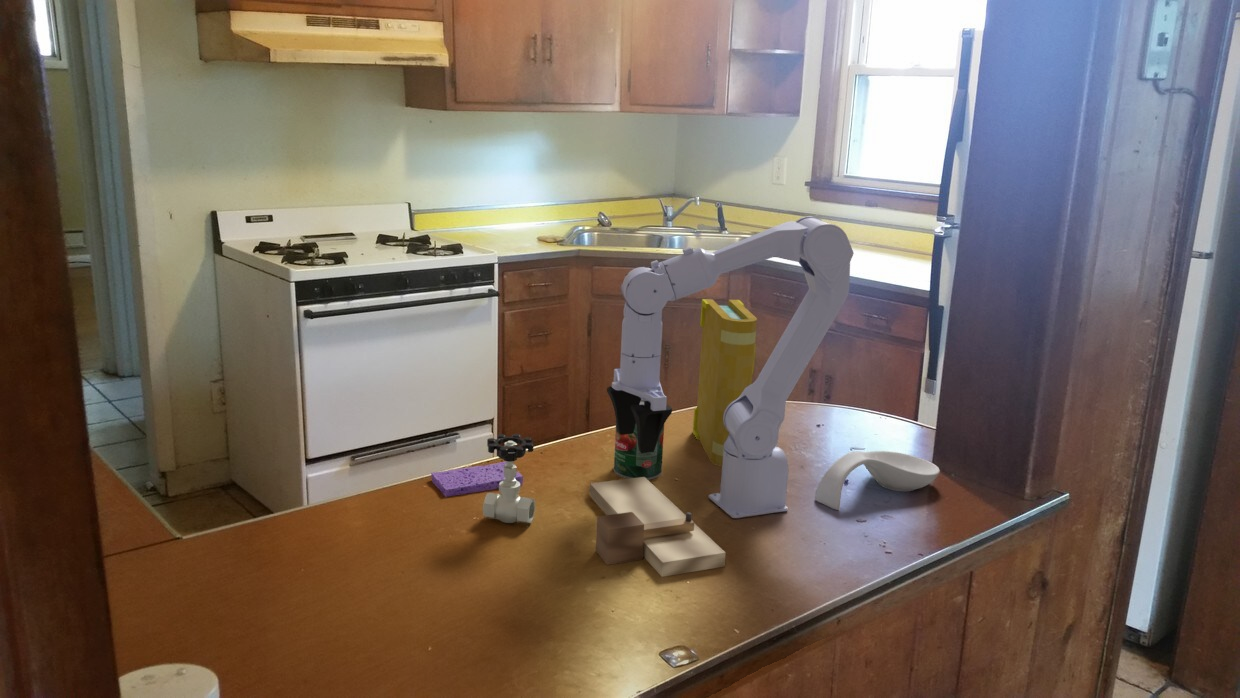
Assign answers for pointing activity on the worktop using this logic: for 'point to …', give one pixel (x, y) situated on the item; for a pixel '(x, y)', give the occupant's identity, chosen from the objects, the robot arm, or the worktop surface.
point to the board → (651, 507)
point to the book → (722, 369)
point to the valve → (509, 482)
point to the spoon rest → (876, 473)
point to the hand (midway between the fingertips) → (636, 442)
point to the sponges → (471, 479)
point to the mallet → (632, 535)
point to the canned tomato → (637, 456)
